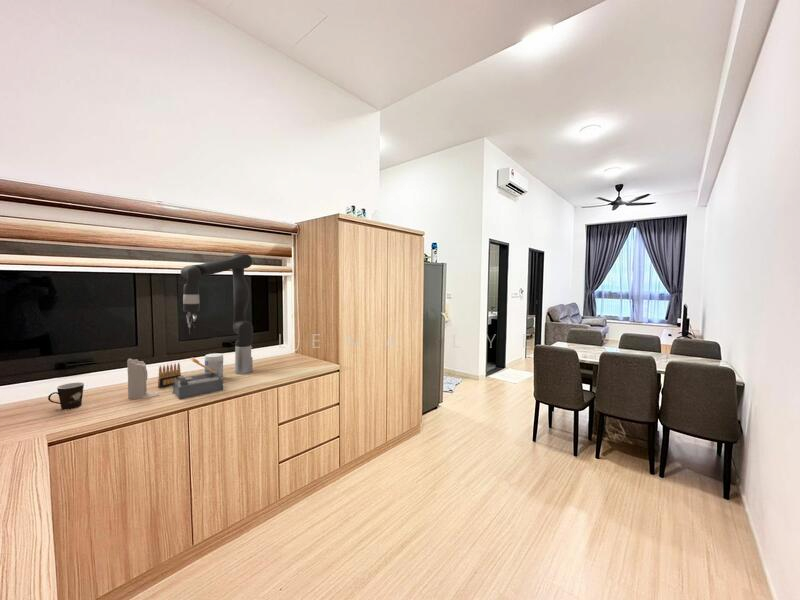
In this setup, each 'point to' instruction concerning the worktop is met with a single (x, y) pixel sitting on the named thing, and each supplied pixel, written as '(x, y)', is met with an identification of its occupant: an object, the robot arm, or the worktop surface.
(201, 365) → the retention lever
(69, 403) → the coffee mug
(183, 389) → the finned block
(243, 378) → the worktop surface
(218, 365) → the supplement tub
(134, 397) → the grey upright block
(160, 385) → the ammunition clip
